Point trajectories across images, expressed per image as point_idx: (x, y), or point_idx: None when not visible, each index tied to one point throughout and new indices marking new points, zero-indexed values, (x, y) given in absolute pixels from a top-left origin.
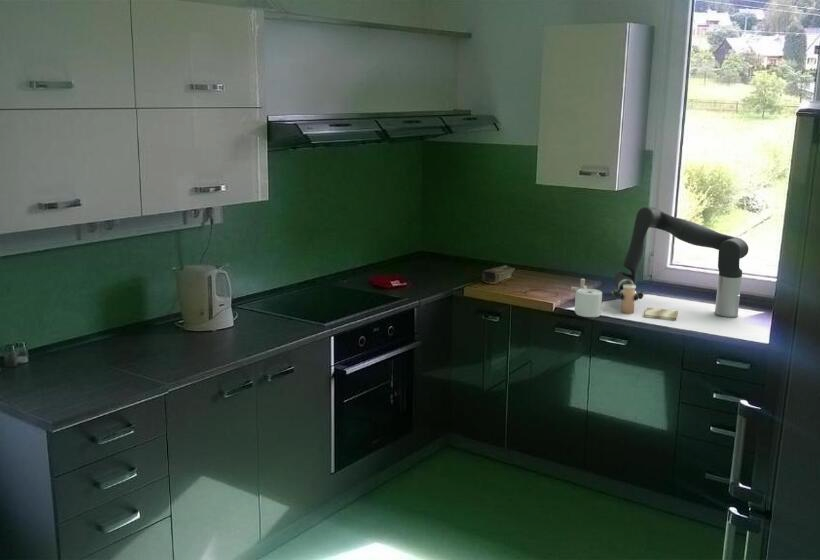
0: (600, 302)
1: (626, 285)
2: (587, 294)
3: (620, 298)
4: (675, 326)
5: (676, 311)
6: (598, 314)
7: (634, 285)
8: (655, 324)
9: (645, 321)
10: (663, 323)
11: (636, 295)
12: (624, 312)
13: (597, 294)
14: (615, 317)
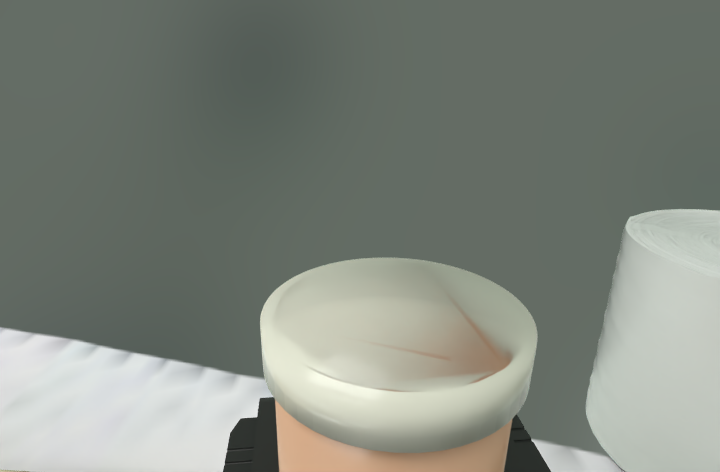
0: (610, 309)
1: (455, 301)
2: (701, 212)
3: None
4: (30, 356)
5: None
6: (589, 388)
7: (292, 327)
8: (163, 359)
9: (218, 395)
10: (86, 388)
11: (259, 420)
12: None
13: (638, 221)
14: None
